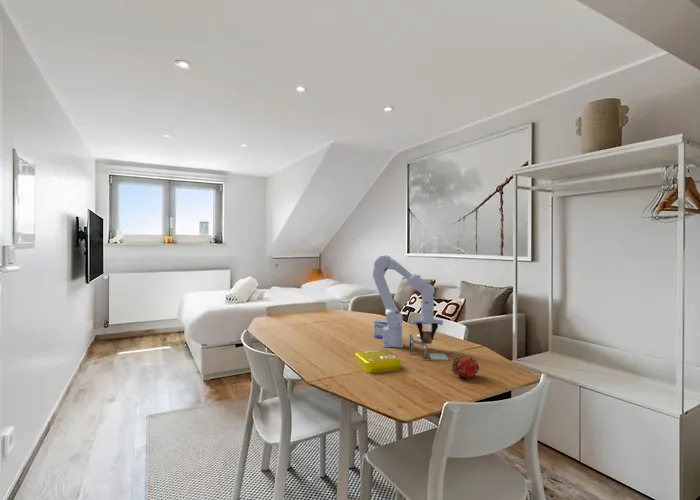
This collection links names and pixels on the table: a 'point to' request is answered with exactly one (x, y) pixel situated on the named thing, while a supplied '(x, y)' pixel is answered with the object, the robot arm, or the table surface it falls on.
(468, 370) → the dragon fruit
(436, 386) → the table surface
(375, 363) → the element tile
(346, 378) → the table surface
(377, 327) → the medicine box
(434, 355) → the pad
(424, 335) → the brown domed cylinder
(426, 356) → the buzz wire
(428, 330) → the teacup and saucer
